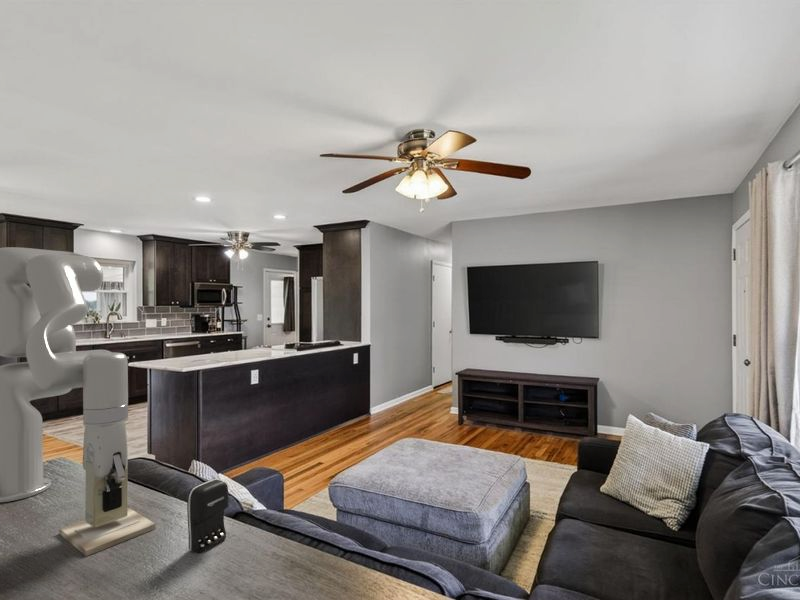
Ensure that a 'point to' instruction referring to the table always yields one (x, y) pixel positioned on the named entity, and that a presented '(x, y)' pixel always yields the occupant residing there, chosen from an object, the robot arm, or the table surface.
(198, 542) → the battery charger
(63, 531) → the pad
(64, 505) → the table surface
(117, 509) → the skincare box
